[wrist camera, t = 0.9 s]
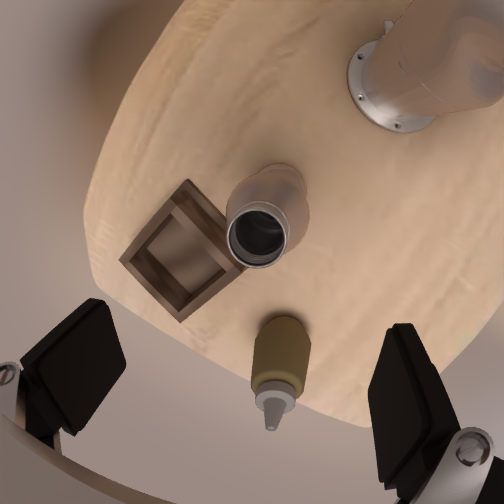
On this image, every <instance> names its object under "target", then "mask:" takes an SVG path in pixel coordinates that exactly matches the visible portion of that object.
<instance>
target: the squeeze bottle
mask: <svg viewBox="0 0 504 504" xmlns="http://www.w3.org/2000/svg"><path fill="white" fill-rule="evenodd" d="M310 350H311V341H310V339H309V336H308V334H307V333H306V331H305V329H304V328H303V326H302V324H301V323H300V322H299V321H297V320H296V319H294V318H291V317H287V316H280V317H277V318H274V319H272V320H271V321H270V322H268V323H267V325H266V326H265V327H264V328H263V329H262V330H261V331H260V332H259V333H258V335H257V337H256V339H255V345H254V355H253V366H252V376H251V388H252V390H253V392H254V393H255V395H256V397H255V404H256V405H257V406H258V408H259V409H261V410H262V411H264V416H265V425H266V429H267V430H269V431H275V430H276V429H277V427H278V425H279V422H280V420H281V418H282V415H283V414H284V413H287V412H289V411H291V410H292V409H293V408H294V407H295V402H296V399H297V398H299V397H300V395H301V394H302V393H303V391H304V386H305V380H306V374H307V369H308V363H309V356H310Z"/></svg>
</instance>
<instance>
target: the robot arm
mask: <svg viewBox="0 0 504 504" xmlns="http://www.w3.org/2000/svg"><path fill="white" fill-rule="evenodd" d="M384 30H385V35H383V36H382V37H381V38H380V40H374V41H371V42H368V43H367V44H365V45H363V46H361V47H360V48H359V49H358V50H357V51H356V53H355V54H354V56H353V57H352V59H351V62H350V64H349V68H348V86H349V90H350V93H351V95H352V98H353V100H354V102H355V103H356V105H357V107H358V108H359V109H360V111H361V112H362V113H363V114H364V115H365V116H366V117H367V118H368V119H369V120H370V121H372V122H373V123H375V124H376V125H378V126H379V127H381V128H384V129H386V130H388V131H392V132H397V133H410V132H415V131H419V130H421V129H423V128H425V127H427V126H428V125H429V124H430V123H431V122H432V121H433V120H434V119H435V117H436V116H437V115H439V114H445V113H451V112H458V111H465V110H472V109H480V108H485V107H488V106H491V105H493V104H495V103H496V102H498V101H499V100H500V99H501V98H502V97H503V96H504V0H413V1H412V3H411V4H410V5H409V6H408V8H407V9H406V10H405V12H404V13H403V14H402V16H401V17H400V18H399V19H398V21H397V22H396V23H395V24H394V22H393V21H391V20H385V21H384ZM358 57H359V58H361V60H359V59H358ZM358 97H361V99H362V100H361V101H360V100H358ZM395 124H396V125H397V128H395ZM20 362H21V364H22V366H23V368H24V369H23V370H22V371H21V369H20V367H19V366H18V364H16V363H15V362H5V363H2V364H0V504H176V503H172V502H169V501H166V500H163V499H160V498H156V497H153V496H150V495H148V494H145V493H142V492H139V491H136V490H134V489H132V488H129V487H126V486H124V485H122V484H119V483H117V482H115V481H112V480H110V479H108V478H106V477H104V476H101V475H99V474H97V473H95V472H93V471H91V470H89V469H87V468H85V467H83V466H81V465H80V464H78V463H76V462H74V461H72V460H70V459H69V458H67V457H65V456H63V455H62V451H61V443H60V433H59V429H60V428H61V427H62V429H63V430H64V431H65V432H67V433H69V434H71V435H72V436H74V437H75V436H76V434H77V432H78V431H81V430H82V429H83V428H84V427H85V425H86V424H87V422H88V421H89V420H90V418H91V417H92V415H93V414H94V412H95V411H96V409H97V408H98V407H99V405H100V404H101V402H102V401H103V400H104V398H105V397H106V395H107V394H108V392H109V391H110V390H111V388H112V387H113V385H114V384H115V383H116V381H117V380H118V379H119V377H120V376H121V374H122V373H123V372H124V370H125V368H126V360H125V357H124V354H123V351H122V348H121V345H120V342H119V339H118V336H117V332H116V329H115V326H114V323H113V319H112V316H111V312H110V309H109V306H108V305H107V304H106V302H105V301H103V300H99V299H94V298H89V299H88V300H86V301H85V302H84V303H83V304H82V305H80V306H79V307H78V308H77V309H76V310H74V312H72V313H71V314H70V315H69V316H68V317H66V318H65V319H64V320H63V321H62V322H61V323H59V324H58V325H57V326H56V327H55V328H54V329H53V330H52V331H50V332H49V333H48V334H47V335H46V336H45V337H44V338H43V339H42V340H41V341H39V343H37V344H36V345H35V346H34V347H33V348H32V349H31V350H30V351H29V352H27V353H26V354H25V355H24V356H23V357H22V358H21V359H20ZM368 402H369V408H370V414H371V421H372V428H373V435H374V442H375V450H376V458H377V468H378V477H379V481H380V482H381V483H383V482H384V487H385V490H389V489H395V488H396V489H397V496H398V497H399V498H398V499H397V500H396V502H395V503H394V504H504V460H501V459H500V458H498V457H496V456H494V452H495V447H494V443H493V440H492V438H491V437H490V436H489V434H488V433H487V432H485V431H484V430H482V429H480V428H476V427H467V428H464V429H461V428H460V425H459V422H458V420H457V417H456V414H455V412H454V409H453V407H452V404H451V402H450V399H449V397H448V394H447V392H446V390H445V387H444V385H443V383H442V380H441V378H440V376H439V373H438V371H437V369H436V367H435V366H434V364H432V363H431V361H430V358H429V356H428V354H427V352H426V350H425V348H424V346H423V344H422V342H421V340H420V338H419V336H418V334H417V332H416V330H415V328H414V326H413V324H411V323H395V324H394V325H393V327H392V328H389V329H388V330H387V332H386V335H385V339H384V342H383V346H382V349H381V352H380V355H379V359H378V362H377V365H376V368H375V371H374V374H373V377H372V380H371V383H370V385H369V388H368Z"/></svg>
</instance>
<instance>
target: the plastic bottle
mask: <svg viewBox="0 0 504 504" xmlns="http://www.w3.org/2000/svg"><path fill="white" fill-rule="evenodd" d="M306 196H307V188H306V184H305V181H304V179H303V177H302V176H301V174H300V173H299V172H298V171H297V170H296V169H294V168H292V167H291V166H288V165H285V164H273V165H269V166H267V167H265V168H264V169H262V170H261V171H260V172H259V173H258V174H256V175H252V176H250V177H248V178H246V179H244V180H243V181H242V182H241V183H239V184H238V185H237V187H236V188H235V189H234V190H233V192H232V193H231V195H230V197H229V200H228V203H227V207H226V223H227V228H228V230H227V237H226V238H227V245H228V248H229V251H230V252H231V254H232V256H233V257H234V258H235V259H236V260H237V261H238V262H239V263H241V264H243V265H244V266H247V267H250V268H265V267H268V266H270V265H272V264H274V263H275V262H277V261H278V260H279V259H280V258H281V256H282V255H284V254H286V253H288V252H289V251H291V250H292V249H294V248H295V247H296V246H297V245H298V244H299V243H300V242H301V240H302V239H303V237H304V236H305V233H306V231H307V228H308V224H309V207H308V202H307V200H306Z"/></svg>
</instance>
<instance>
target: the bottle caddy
mask: <svg viewBox="0 0 504 504" xmlns="http://www.w3.org/2000/svg"><path fill="white" fill-rule="evenodd" d="M227 230H228V228H227V223H226V218H225V217H224V216H223V215H222V214H221V213H220V212H219V210H218V209H217V208H216V207H215V206H214V205H213V204H212V203H211V202H210V201H209V200H208V199H207V198H206V197H205V196H204V195H203V194H202V193H201V192H200V190H199V189H198V188H197V187H196V186H195V185H194V184H193V183H192V182H191V181H190V180H189V179H187V180H185V181H184V182H183V183H182V185H181V186H180V187H179V188H178V189H177V190H176V191H175V192H174V193H173V195H172V196H171V197H170V198H169V199H168V200H167V201H166V202H165V204H164V205H163V206H162V207H161V208H160V209H159V211H158V212H157V213H156V214H155V215H154V216H153V218H152V219H151V220H150V221H149V222H148V224H147V225H146V226H145V227H144V228H143V230H142V231H141V232H140V233H139V234H138V236H137V237H136V238H135V239H134V241H133V242H132V243H131V244H130V246H129V247H128V248H127V249H126V251H125V252H124V253H123V255H122V256H121V257H120V258H119V261H120V262H121V263H122V264H123V266H124V267H125V268H126V269H127V270H128V271H129V272H130V273H131V274H132V275H133V276H134V277H135V279H136V280H137V281H138V282H139V283H140V284H141V285H142V286H143V287H144V288H145V289H146V290H147V291H148V292H149V293H150V294H151V295H152V296H153V297H154V298H155V299H156V300H157V301H158V302H159V303H160V304H161V305H162V306H163V307H164V308H165V309H166V310H167V311H168V312H169V313H170V314H171V315H172V316H173V317H174V318H175V319H176V320H177V321H178V322H179V323H181V322H182V321H183V320H185V319H186V318H187V317H188V316H190V315H191V314H192V313H193V312H195V311H196V310H197V309H198V308H200V307H201V306H202V305H203V304H205V303H206V302H207V301H208V300H210V299H211V298H212V297H213V296H215V295H216V294H217V293H218V292H219V291H221V290H222V289H223V288H224V287H226V286H227V285H228V284H229V283H231V282H232V281H233V280H234V279H236V278H237V277H238V276H239V275H240V274H242V273H243V272H244V271H245V270H246V269H247V268H249V267H247V266H244V265H243V264H241V263H239V262H238V261H237V260H236V259H235V258H234V257H233V256H232V254H231V252H230V251H229V248H228V245H227V238H226V237H227Z"/></svg>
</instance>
